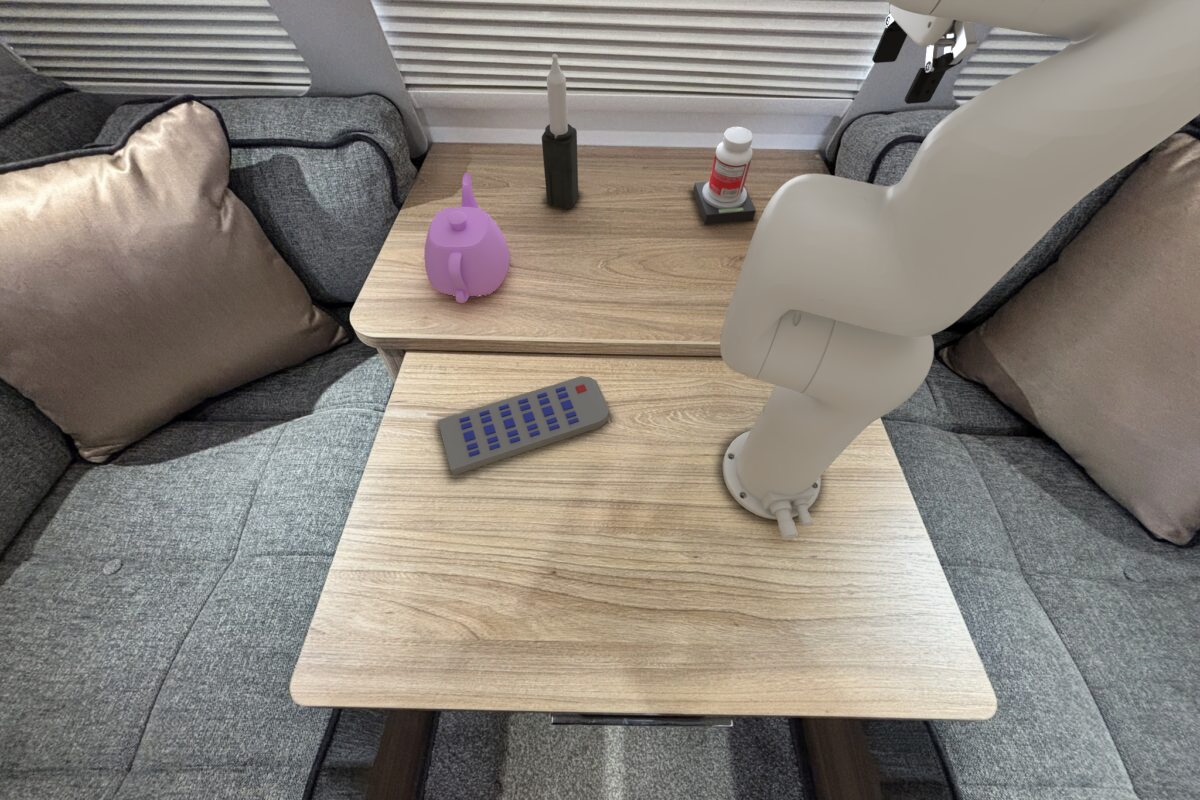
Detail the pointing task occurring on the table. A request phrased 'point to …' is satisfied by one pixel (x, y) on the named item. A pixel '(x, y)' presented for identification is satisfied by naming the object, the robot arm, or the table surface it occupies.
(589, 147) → the table surface
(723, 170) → the pill bottle
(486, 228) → the teapot
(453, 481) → the table surface
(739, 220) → the scale
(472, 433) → the remote control
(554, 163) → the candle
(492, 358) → the table surface
